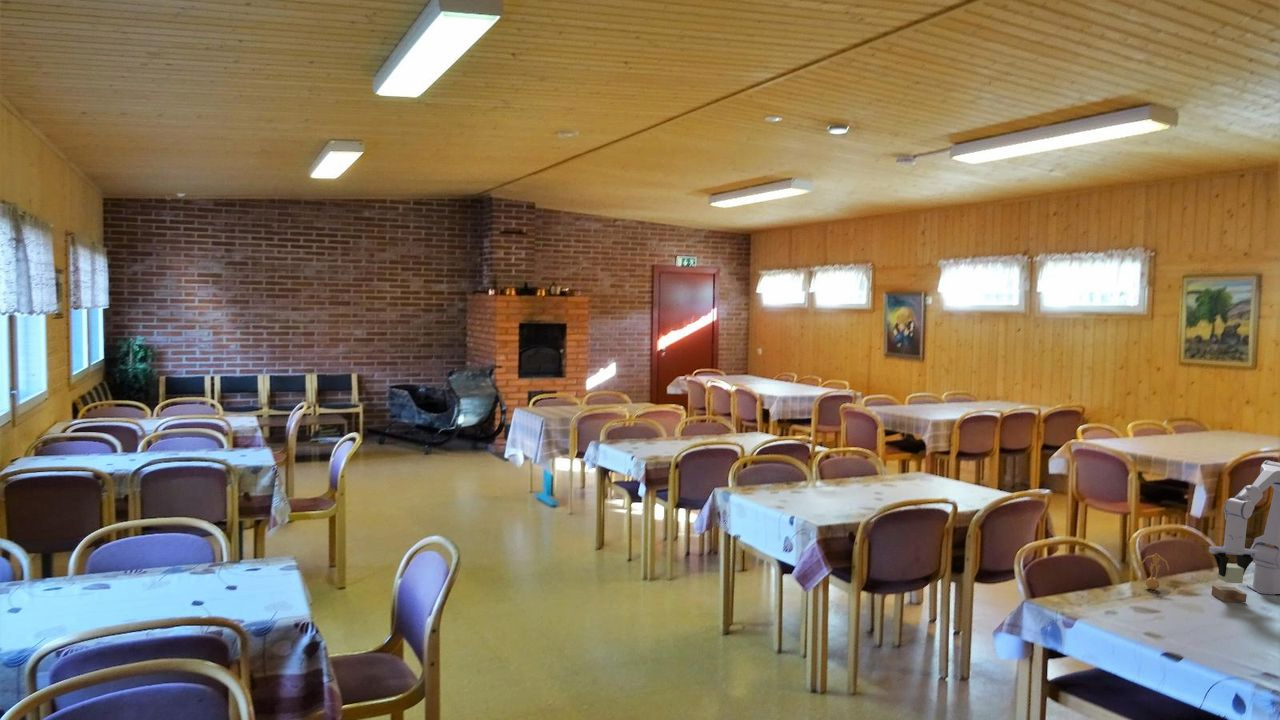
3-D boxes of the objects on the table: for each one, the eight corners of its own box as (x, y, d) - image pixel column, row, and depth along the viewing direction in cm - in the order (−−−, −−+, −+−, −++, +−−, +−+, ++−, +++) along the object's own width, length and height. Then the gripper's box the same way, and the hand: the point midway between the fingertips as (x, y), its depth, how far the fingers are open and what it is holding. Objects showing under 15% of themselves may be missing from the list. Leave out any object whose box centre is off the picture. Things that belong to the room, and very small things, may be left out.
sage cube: (1233, 578, 303) (1234, 563, 302) (1242, 583, 298) (1243, 568, 297) (1217, 577, 303) (1219, 562, 303) (1226, 582, 298) (1228, 567, 298)
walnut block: (1233, 595, 304) (1234, 587, 304) (1245, 603, 297) (1246, 594, 297) (1211, 594, 304) (1212, 585, 304) (1223, 601, 297) (1224, 592, 297)
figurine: (1137, 587, 308) (1140, 552, 306) (1140, 583, 312) (1143, 549, 311) (1165, 593, 302) (1168, 558, 301) (1168, 589, 307) (1171, 554, 306)
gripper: (1219, 537, 295) (1214, 578, 296) (1265, 540, 294) (1261, 581, 296) (1207, 531, 302) (1202, 571, 303) (1252, 534, 301) (1248, 574, 303)
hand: (1230, 576), depth 300 cm, fingers closed on sage cube, 5 cm apart
